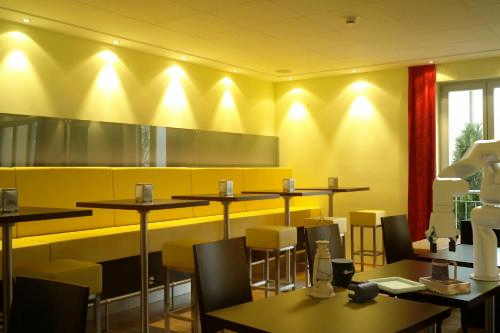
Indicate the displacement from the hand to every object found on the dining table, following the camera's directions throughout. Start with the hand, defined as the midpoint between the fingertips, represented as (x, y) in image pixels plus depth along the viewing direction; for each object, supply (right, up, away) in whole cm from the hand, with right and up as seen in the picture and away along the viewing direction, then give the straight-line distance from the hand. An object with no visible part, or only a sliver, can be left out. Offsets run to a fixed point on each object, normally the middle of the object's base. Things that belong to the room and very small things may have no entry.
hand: (442, 252), depth 200 cm
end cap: (-36, -15, -17) cm, 42 cm away
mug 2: (+1, -15, 0) cm, 15 cm away
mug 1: (-37, -16, +11) cm, 42 cm away
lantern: (-49, -15, -7) cm, 52 cm away
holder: (+1, -15, 0) cm, 15 cm away
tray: (-17, -15, +5) cm, 23 cm away
